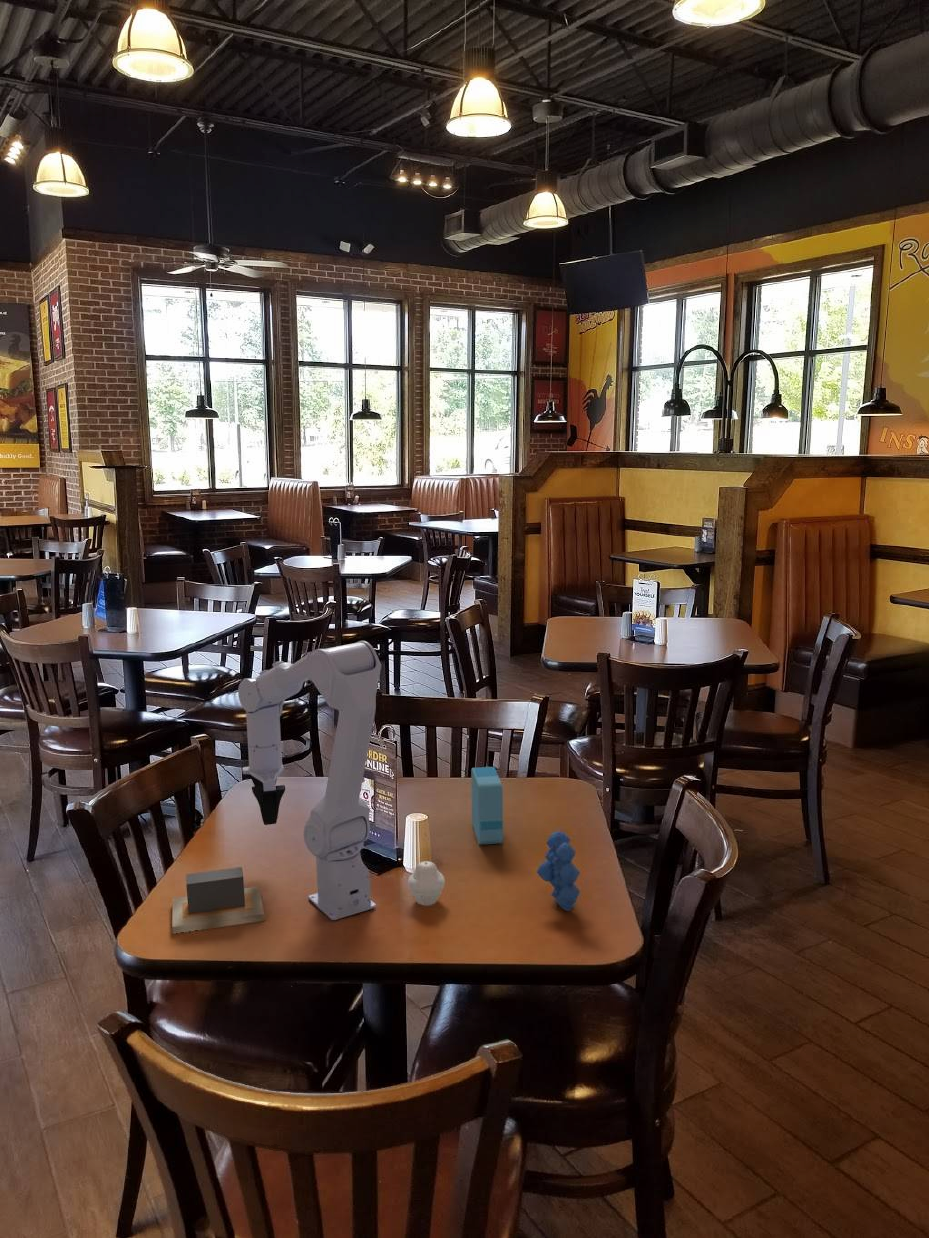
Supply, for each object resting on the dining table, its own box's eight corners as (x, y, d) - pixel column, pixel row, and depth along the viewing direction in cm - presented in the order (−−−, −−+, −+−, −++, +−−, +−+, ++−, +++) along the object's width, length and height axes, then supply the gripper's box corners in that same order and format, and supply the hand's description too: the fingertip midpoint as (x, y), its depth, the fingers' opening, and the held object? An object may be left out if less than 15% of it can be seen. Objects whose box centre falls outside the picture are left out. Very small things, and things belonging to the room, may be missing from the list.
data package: (503, 846, 179) (502, 785, 177) (479, 847, 178) (478, 786, 176) (494, 821, 190) (493, 764, 188) (471, 822, 190) (471, 765, 188)
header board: (259, 892, 161) (258, 869, 160) (264, 920, 151) (263, 896, 151) (173, 905, 157) (171, 881, 156) (172, 934, 148) (170, 909, 147)
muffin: (432, 913, 153) (431, 872, 152) (400, 904, 156) (399, 864, 155) (452, 897, 158) (451, 858, 157) (421, 889, 162) (421, 850, 160)
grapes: (527, 889, 161) (527, 823, 159) (565, 885, 162) (566, 819, 160) (546, 923, 150) (546, 851, 148) (587, 918, 151) (588, 847, 149)
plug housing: (188, 914, 151) (186, 884, 150) (188, 903, 155) (186, 874, 154) (245, 906, 153) (243, 876, 152) (243, 896, 157) (241, 866, 156)
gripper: (238, 733, 173) (242, 804, 176) (243, 757, 160) (248, 833, 162) (277, 729, 175) (281, 799, 178) (286, 753, 162) (289, 828, 164)
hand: (268, 815), depth 170 cm, fingers open, 7 cm apart
